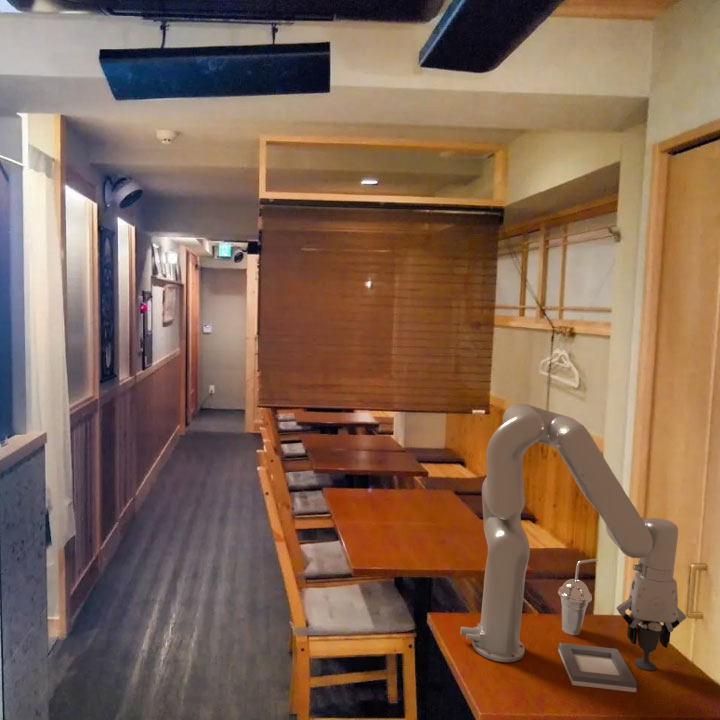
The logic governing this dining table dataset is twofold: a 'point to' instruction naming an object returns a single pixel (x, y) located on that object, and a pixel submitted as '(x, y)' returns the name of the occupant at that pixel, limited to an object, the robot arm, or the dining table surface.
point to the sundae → (648, 642)
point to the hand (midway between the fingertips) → (647, 642)
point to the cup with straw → (574, 602)
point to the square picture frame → (596, 667)
